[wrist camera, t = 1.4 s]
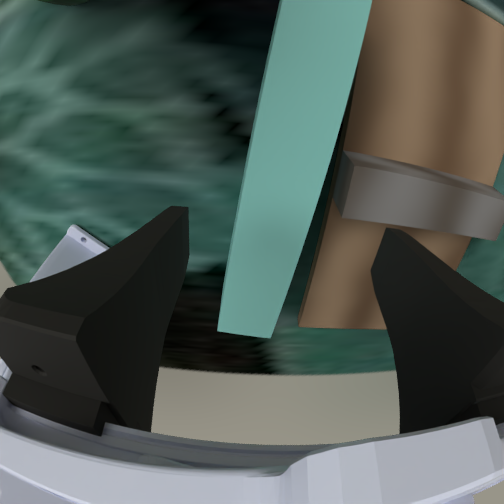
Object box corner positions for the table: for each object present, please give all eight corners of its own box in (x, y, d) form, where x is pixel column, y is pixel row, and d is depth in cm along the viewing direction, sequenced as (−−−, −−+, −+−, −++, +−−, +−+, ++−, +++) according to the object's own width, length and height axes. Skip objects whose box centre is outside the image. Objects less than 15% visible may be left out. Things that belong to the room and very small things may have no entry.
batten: (269, 287, 24) (270, 338, 20) (224, 280, 24) (217, 330, 20) (343, 10, 13) (372, -3, 9) (281, -6, 12) (289, -28, 8)
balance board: (297, 317, 26) (301, 351, 23) (364, -33, 11) (386, -48, 8) (419, 321, 26) (430, 349, 23) (516, 39, 11) (549, 45, 8)
